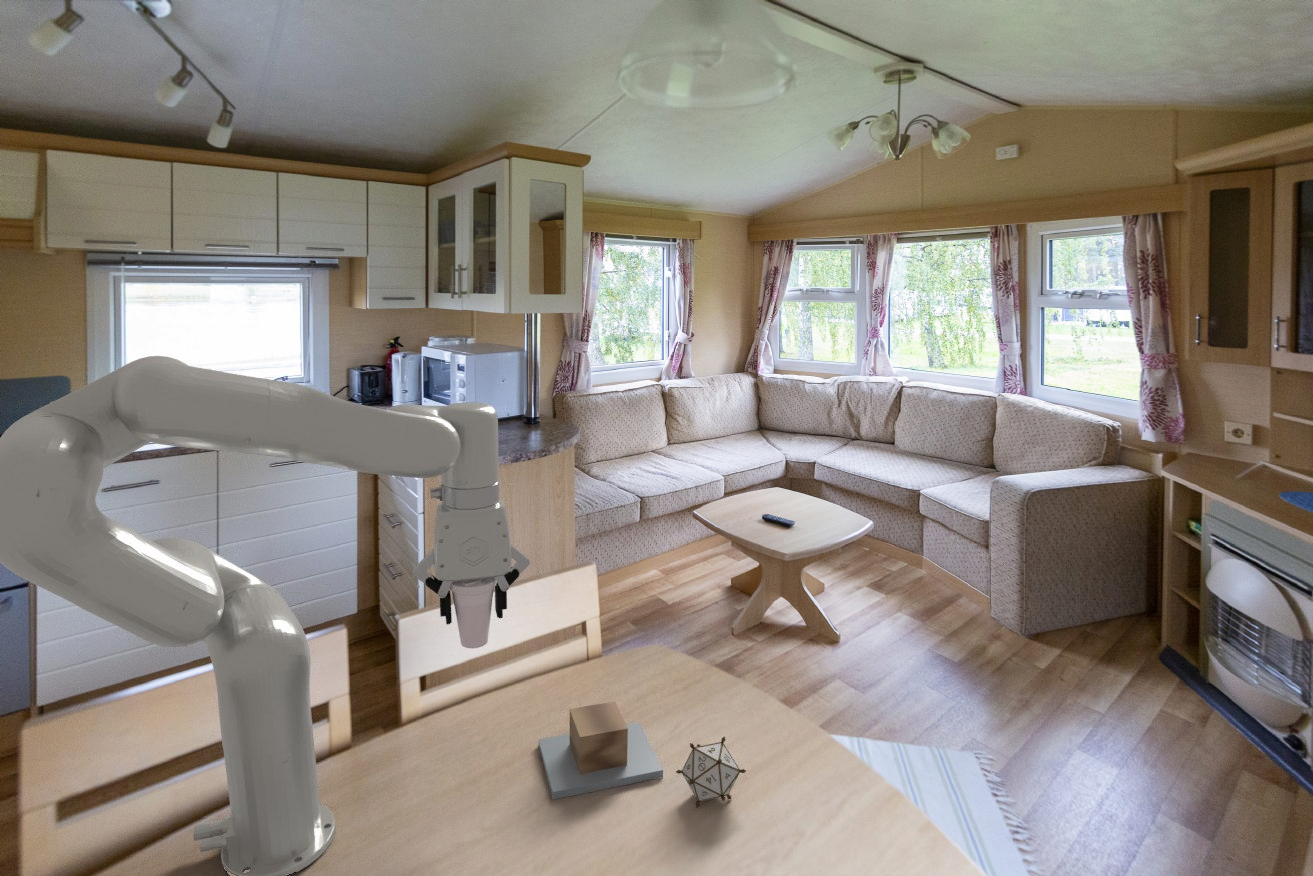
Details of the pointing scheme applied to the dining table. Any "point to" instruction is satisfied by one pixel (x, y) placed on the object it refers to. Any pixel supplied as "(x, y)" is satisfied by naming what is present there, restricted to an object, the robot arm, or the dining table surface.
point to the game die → (710, 771)
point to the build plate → (571, 782)
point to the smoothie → (473, 609)
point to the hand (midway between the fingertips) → (474, 616)
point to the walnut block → (598, 737)
